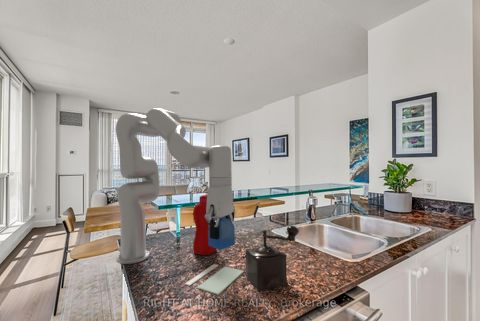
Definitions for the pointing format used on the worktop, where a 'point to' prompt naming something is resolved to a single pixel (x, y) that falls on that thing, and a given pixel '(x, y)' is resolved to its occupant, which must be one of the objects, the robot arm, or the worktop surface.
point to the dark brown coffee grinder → (268, 263)
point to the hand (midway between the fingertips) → (221, 234)
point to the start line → (201, 275)
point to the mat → (220, 280)
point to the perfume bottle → (223, 234)
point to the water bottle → (201, 229)
